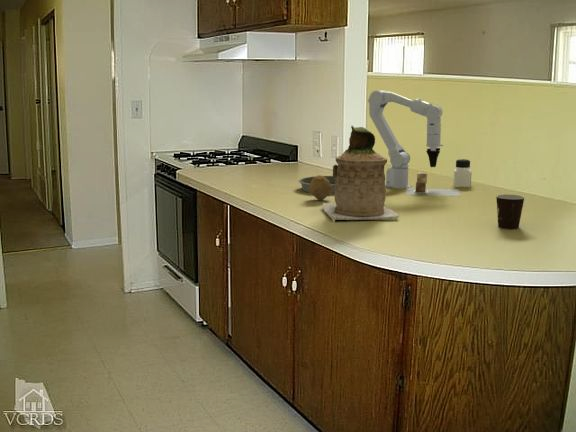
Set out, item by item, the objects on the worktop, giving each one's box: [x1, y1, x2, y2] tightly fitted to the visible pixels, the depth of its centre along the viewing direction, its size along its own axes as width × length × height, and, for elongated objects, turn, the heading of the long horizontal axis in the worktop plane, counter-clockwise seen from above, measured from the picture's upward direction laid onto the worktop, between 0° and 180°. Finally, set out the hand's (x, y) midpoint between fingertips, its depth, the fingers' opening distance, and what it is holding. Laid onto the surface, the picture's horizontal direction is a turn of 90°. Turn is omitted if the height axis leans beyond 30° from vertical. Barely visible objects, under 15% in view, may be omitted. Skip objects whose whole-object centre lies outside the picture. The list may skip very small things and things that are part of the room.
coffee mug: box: [495, 193, 525, 230], centre depth 208 cm, size 12×9×10 cm
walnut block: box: [415, 181, 427, 193], centre depth 272 cm, size 4×4×4 cm
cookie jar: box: [322, 125, 400, 223], centre depth 229 cm, size 25×25×32 cm
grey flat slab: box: [405, 187, 461, 197], centre depth 272 cm, size 22×16×1 cm
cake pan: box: [298, 175, 335, 195], centre depth 283 cm, size 25×25×4 cm
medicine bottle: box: [453, 158, 472, 188], centre depth 286 cm, size 7×7×12 cm
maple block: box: [416, 171, 428, 184], centre depth 271 cm, size 4×4×4 cm
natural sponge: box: [309, 174, 332, 201], centre depth 258 cm, size 9×9×10 cm
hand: (433, 165), depth 277 cm, fingers open, 7 cm apart
